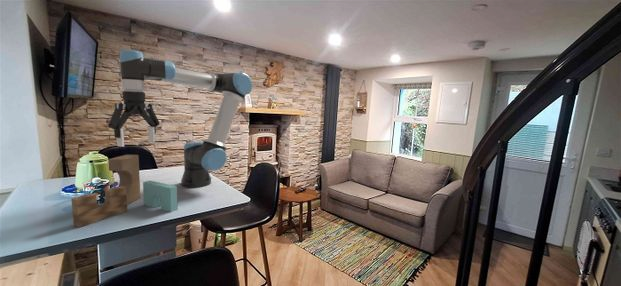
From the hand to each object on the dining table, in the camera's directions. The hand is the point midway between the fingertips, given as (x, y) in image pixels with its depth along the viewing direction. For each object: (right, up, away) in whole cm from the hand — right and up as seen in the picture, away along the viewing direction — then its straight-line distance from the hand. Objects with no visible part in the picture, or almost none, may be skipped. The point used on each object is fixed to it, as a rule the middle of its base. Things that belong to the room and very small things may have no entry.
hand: (137, 143), depth 105 cm
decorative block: (-9, -26, +7) cm, 28 cm away
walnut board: (-7, -28, -9) cm, 30 cm away
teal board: (+8, -27, +3) cm, 28 cm away
